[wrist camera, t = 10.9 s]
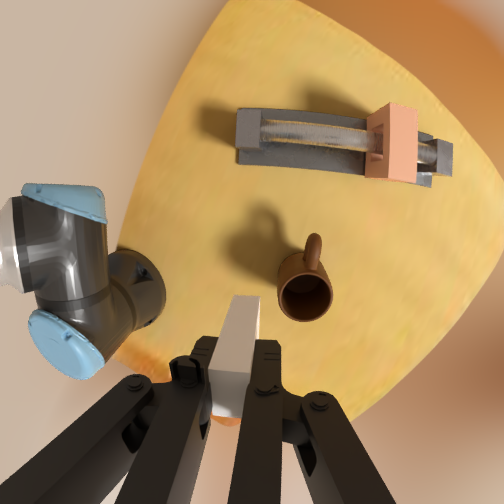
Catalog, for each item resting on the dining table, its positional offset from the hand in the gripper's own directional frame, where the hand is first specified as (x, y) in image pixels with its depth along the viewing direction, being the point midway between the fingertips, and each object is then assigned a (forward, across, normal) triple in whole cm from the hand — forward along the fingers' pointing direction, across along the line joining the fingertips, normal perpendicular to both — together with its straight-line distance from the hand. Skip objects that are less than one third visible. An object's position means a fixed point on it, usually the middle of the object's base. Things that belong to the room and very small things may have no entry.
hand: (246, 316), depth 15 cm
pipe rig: (+28, +12, +14) cm, 33 cm away
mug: (+28, +6, -5) cm, 29 cm away
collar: (+26, +17, +14) cm, 34 cm away
